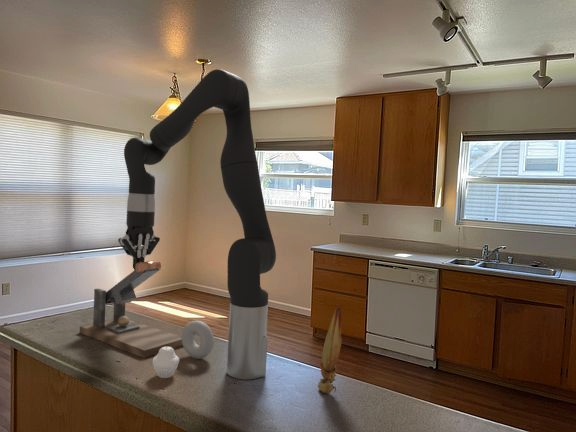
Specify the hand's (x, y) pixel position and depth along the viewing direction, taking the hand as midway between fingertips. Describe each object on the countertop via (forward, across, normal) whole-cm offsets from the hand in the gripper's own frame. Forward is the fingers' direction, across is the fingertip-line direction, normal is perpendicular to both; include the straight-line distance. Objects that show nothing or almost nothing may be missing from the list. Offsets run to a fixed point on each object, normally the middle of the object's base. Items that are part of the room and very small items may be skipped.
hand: (138, 270), depth 128 cm
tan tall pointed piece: (+20, +6, -60) cm, 63 cm away
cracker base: (+20, 0, +2) cm, 20 cm away
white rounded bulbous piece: (+20, -11, -26) cm, 35 cm away
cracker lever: (+8, 0, +2) cm, 8 cm away
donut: (+20, +2, -23) cm, 31 cm away
